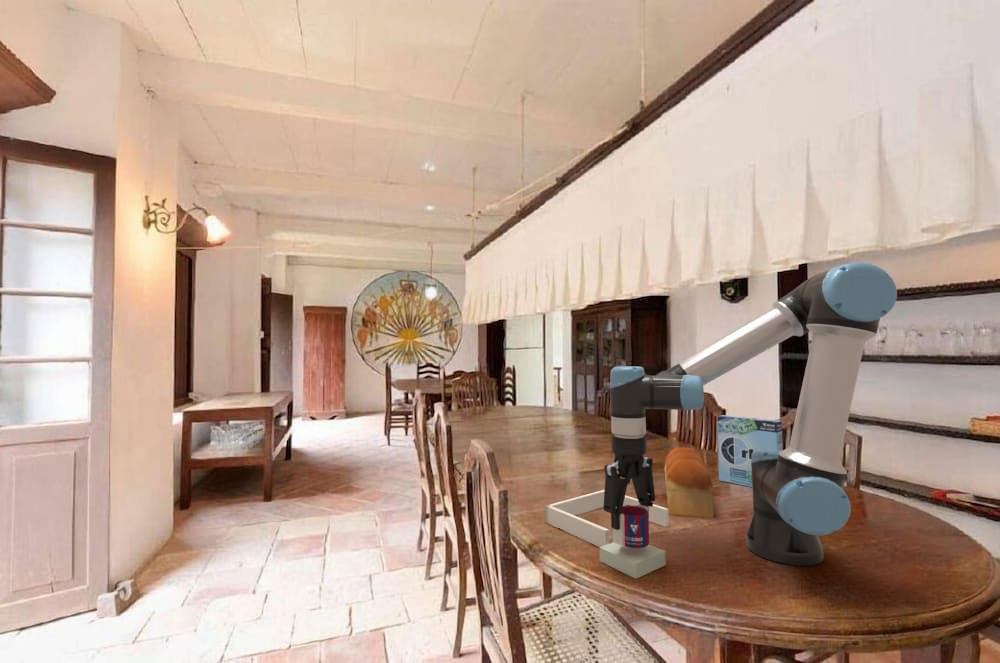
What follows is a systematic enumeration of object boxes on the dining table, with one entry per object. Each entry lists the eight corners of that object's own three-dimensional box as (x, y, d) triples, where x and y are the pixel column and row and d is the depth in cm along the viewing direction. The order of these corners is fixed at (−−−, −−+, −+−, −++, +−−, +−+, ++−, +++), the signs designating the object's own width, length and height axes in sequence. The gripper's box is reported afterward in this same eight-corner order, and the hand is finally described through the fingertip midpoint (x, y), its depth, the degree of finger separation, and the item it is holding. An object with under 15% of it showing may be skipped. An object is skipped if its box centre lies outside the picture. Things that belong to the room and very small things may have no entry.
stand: (665, 565, 100) (665, 551, 100) (635, 578, 94) (635, 564, 94) (629, 549, 108) (628, 536, 108) (599, 561, 102) (599, 547, 102)
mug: (618, 547, 98) (617, 515, 98) (615, 528, 107) (615, 499, 108) (651, 549, 96) (650, 517, 97) (645, 530, 106) (644, 501, 106)
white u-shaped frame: (668, 525, 121) (668, 508, 122) (605, 550, 108) (605, 530, 108) (606, 504, 140) (606, 489, 140) (545, 522, 126) (545, 505, 126)
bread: (715, 519, 126) (713, 465, 127) (667, 515, 130) (665, 462, 131) (705, 492, 150) (703, 447, 150) (665, 489, 154) (663, 445, 154)
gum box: (718, 481, 161) (716, 416, 162) (725, 478, 165) (722, 414, 166) (779, 493, 146) (776, 422, 147) (785, 490, 150) (782, 420, 151)
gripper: (643, 428, 111) (646, 523, 110) (584, 438, 99) (586, 544, 99) (670, 432, 105) (673, 533, 104) (610, 443, 93) (613, 557, 92)
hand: (630, 538), depth 101 cm, fingers closed on mug, 7 cm apart
